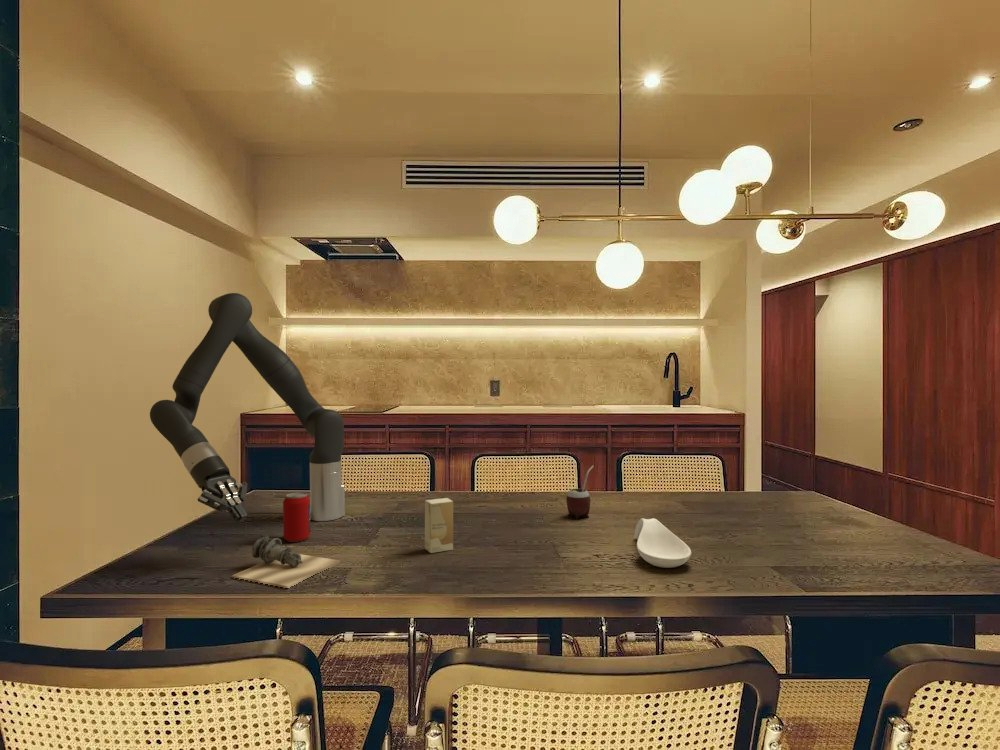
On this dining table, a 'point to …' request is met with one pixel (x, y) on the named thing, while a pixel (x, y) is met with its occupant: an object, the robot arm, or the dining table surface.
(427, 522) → the skincare box
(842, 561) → the dining table surface
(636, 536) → the spoon rest
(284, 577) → the birch board
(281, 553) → the grey chess piece
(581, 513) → the mate gourd
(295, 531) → the beverage can
